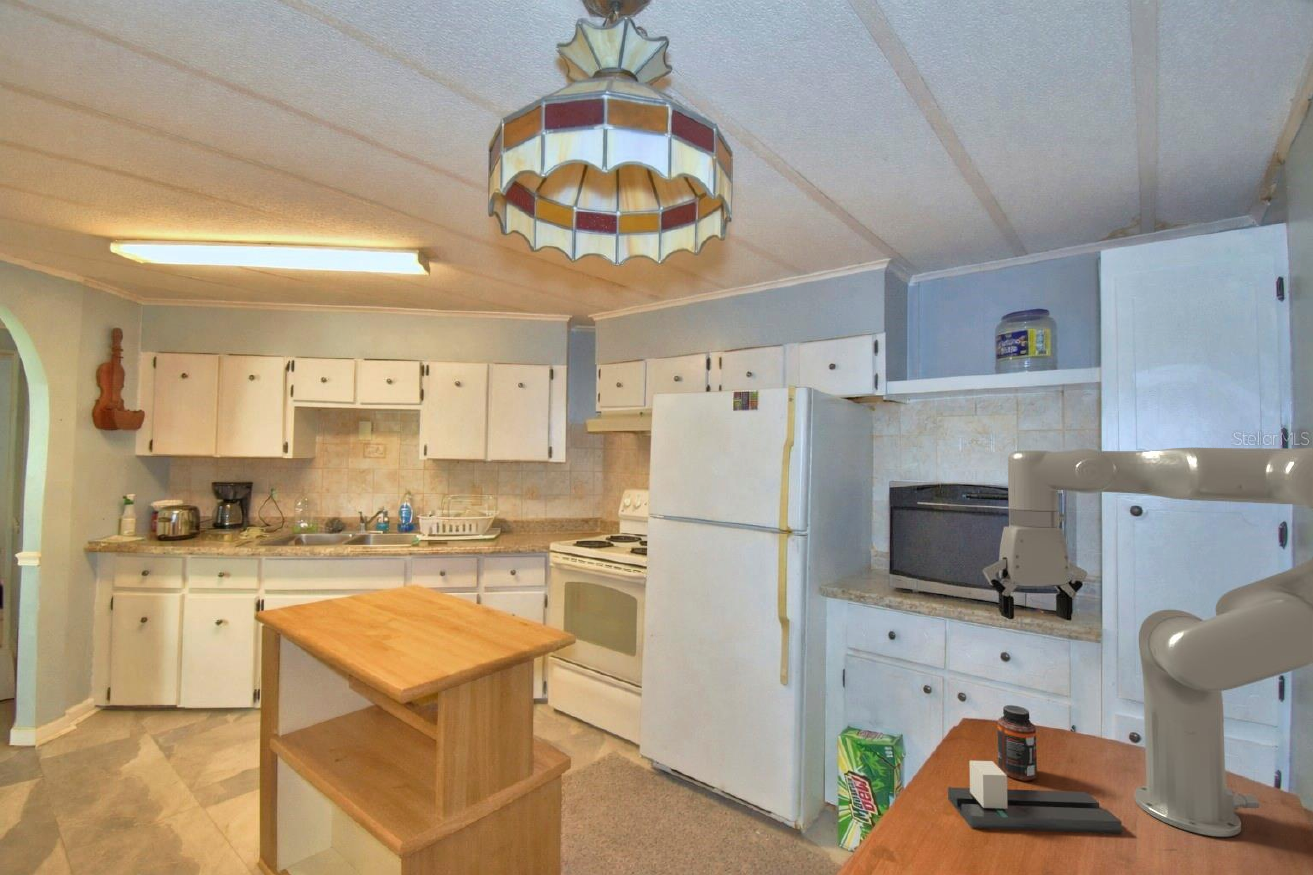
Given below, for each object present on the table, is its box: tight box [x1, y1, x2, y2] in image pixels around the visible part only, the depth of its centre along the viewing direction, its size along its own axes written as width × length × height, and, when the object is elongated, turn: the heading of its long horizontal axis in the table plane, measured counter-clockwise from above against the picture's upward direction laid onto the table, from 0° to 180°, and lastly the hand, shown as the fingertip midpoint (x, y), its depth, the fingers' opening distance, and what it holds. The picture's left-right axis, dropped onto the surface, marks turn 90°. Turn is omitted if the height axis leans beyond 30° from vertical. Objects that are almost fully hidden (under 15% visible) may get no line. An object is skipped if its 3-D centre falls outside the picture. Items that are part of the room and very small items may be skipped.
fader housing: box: [947, 787, 1123, 834], centre depth 94 cm, size 22×8×2 cm, turn 87°
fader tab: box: [969, 760, 1008, 809], centre depth 94 cm, size 4×4×6 cm
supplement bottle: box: [997, 704, 1038, 781], centre depth 107 cm, size 6×6×11 cm
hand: (1035, 617), depth 104 cm, fingers open, 9 cm apart
